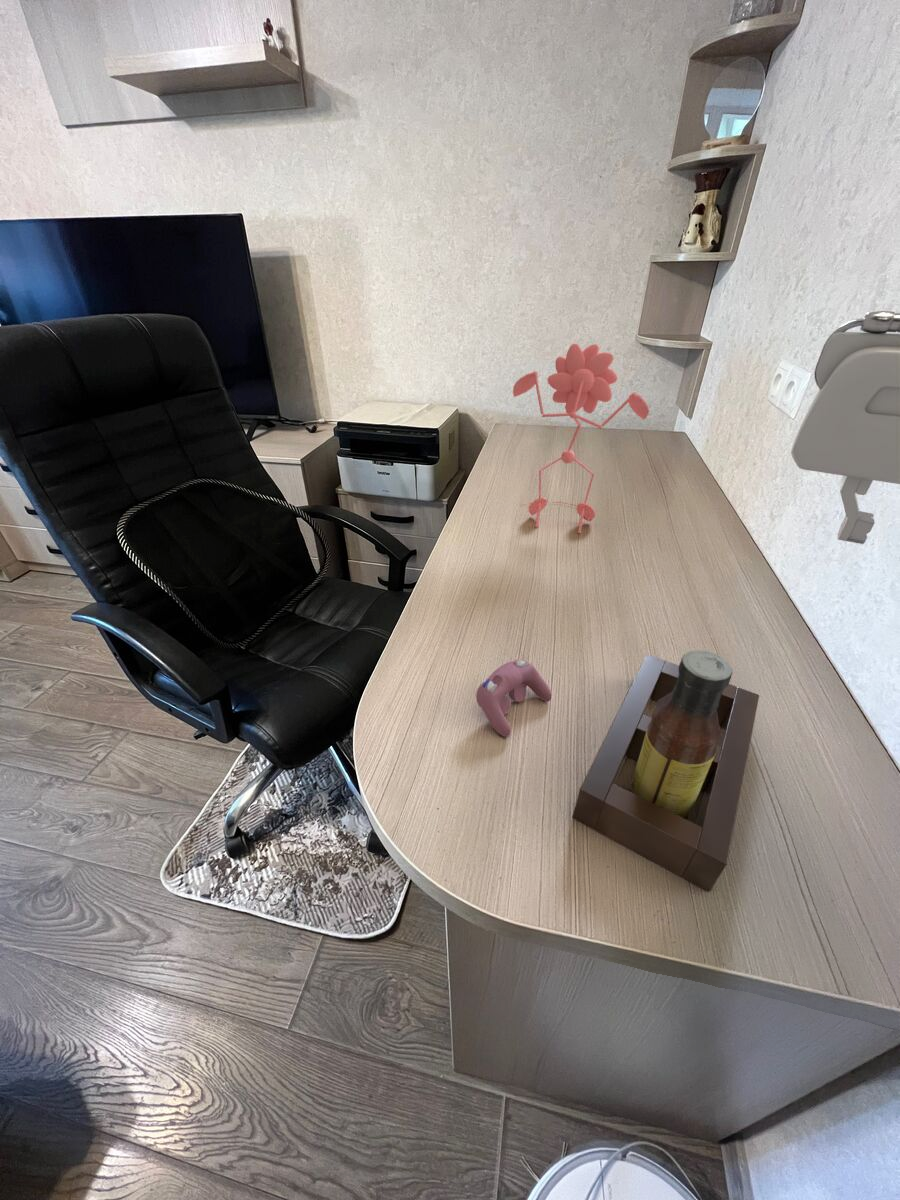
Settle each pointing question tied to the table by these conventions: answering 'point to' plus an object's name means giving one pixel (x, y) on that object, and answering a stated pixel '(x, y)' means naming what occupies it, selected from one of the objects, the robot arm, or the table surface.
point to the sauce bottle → (683, 735)
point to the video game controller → (509, 691)
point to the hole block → (650, 826)
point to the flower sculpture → (578, 403)
